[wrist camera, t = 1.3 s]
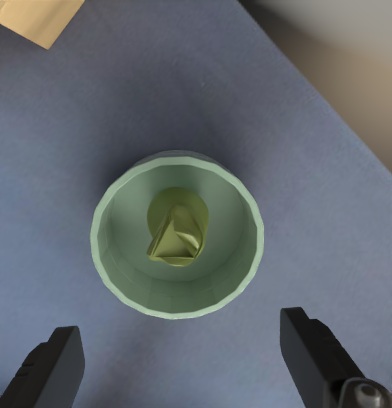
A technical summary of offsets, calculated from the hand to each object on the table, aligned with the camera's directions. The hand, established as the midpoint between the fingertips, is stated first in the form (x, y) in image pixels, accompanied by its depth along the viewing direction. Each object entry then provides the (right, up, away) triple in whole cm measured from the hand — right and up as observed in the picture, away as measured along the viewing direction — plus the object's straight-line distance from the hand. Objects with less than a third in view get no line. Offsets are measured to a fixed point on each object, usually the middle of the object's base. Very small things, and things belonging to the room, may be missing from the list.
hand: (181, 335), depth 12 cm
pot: (-1, +4, +19) cm, 19 cm away
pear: (-1, +5, +18) cm, 19 cm away
